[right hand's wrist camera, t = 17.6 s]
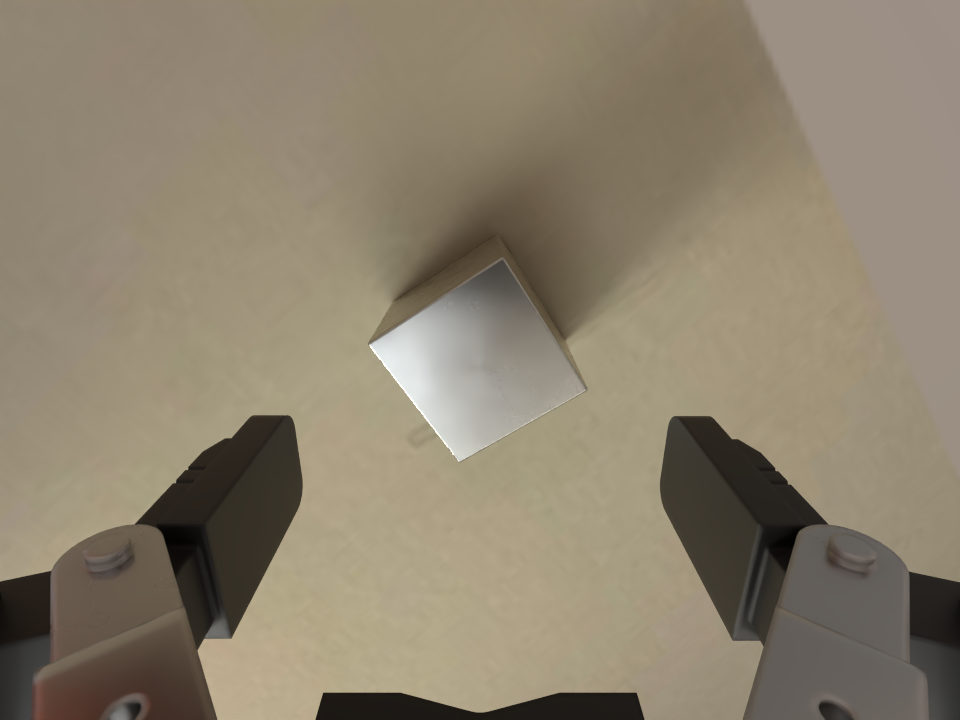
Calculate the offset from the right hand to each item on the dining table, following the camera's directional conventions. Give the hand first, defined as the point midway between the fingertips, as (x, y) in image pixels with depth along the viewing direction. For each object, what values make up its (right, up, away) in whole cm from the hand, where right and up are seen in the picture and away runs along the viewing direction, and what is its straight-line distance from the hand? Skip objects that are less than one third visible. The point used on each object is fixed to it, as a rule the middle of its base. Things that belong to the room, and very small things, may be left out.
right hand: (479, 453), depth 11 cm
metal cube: (0, +3, +9) cm, 10 cm away
